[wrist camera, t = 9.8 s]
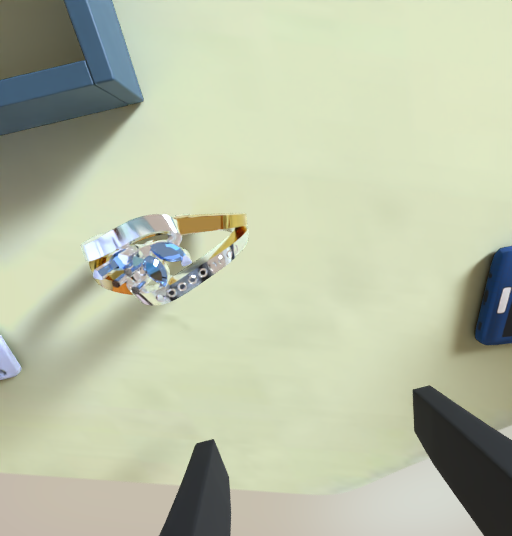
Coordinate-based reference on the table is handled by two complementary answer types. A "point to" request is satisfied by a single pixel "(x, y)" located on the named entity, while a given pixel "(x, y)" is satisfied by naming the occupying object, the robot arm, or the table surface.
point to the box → (75, 75)
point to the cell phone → (497, 302)
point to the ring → (161, 254)
